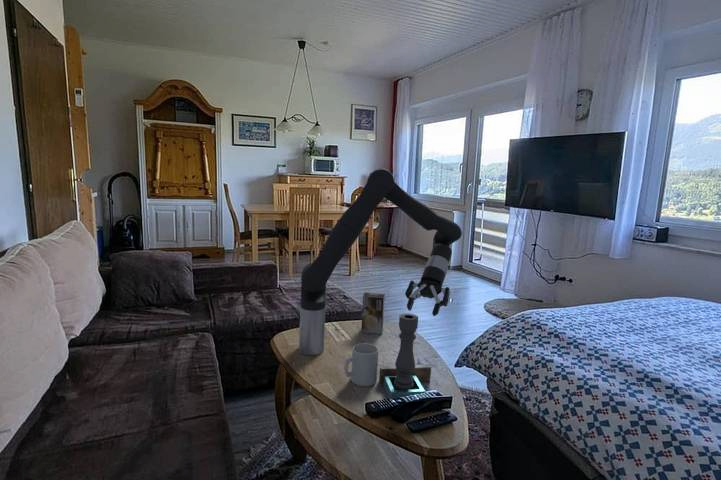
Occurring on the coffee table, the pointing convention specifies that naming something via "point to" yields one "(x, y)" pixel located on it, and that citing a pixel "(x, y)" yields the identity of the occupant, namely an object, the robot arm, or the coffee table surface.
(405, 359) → the candle holder
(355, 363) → the mug
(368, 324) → the coffee box
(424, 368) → the door edge rail
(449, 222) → the robot arm
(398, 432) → the coffee table surface
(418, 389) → the frame
